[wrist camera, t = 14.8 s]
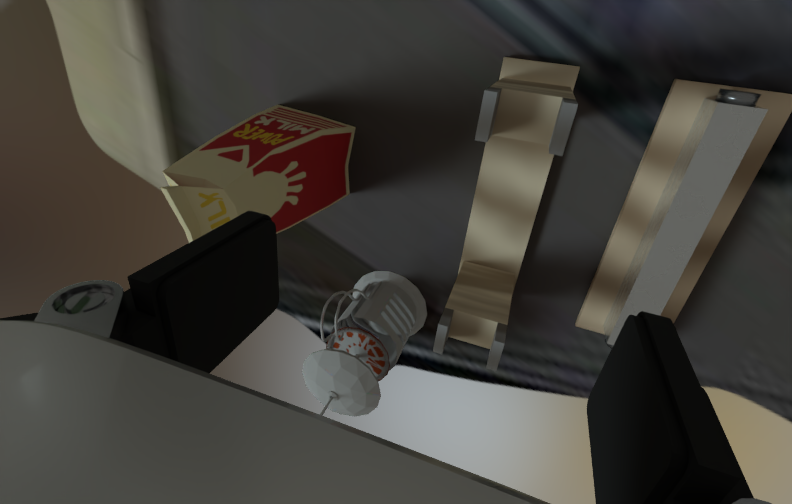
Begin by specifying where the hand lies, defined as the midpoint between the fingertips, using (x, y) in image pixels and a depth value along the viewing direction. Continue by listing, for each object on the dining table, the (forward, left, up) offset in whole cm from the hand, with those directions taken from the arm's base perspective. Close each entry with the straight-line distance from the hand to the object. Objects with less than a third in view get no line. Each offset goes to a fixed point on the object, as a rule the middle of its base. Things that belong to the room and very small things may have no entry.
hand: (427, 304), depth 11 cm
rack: (+7, +1, -30) cm, 31 cm away
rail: (+7, +15, -30) cm, 34 cm away
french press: (+23, -10, -31) cm, 39 cm away
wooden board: (+7, +15, -30) cm, 35 cm away
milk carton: (+7, -20, -31) cm, 37 cm away
